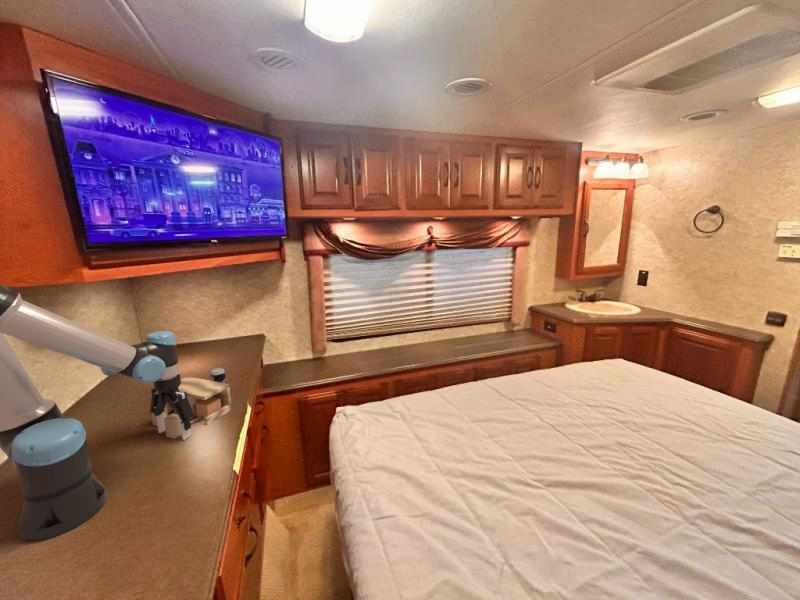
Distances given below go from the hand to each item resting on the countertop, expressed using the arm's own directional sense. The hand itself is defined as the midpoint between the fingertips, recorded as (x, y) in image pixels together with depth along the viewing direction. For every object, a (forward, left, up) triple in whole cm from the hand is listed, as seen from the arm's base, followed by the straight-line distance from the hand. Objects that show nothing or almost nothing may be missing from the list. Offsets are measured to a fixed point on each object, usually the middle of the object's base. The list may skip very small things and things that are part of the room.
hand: (174, 434), depth 112 cm
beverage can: (+27, +10, 0) cm, 29 cm away
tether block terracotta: (+8, 0, 0) cm, 8 cm away
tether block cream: (+9, +12, 0) cm, 15 cm away
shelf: (+14, +6, 0) cm, 15 cm away
